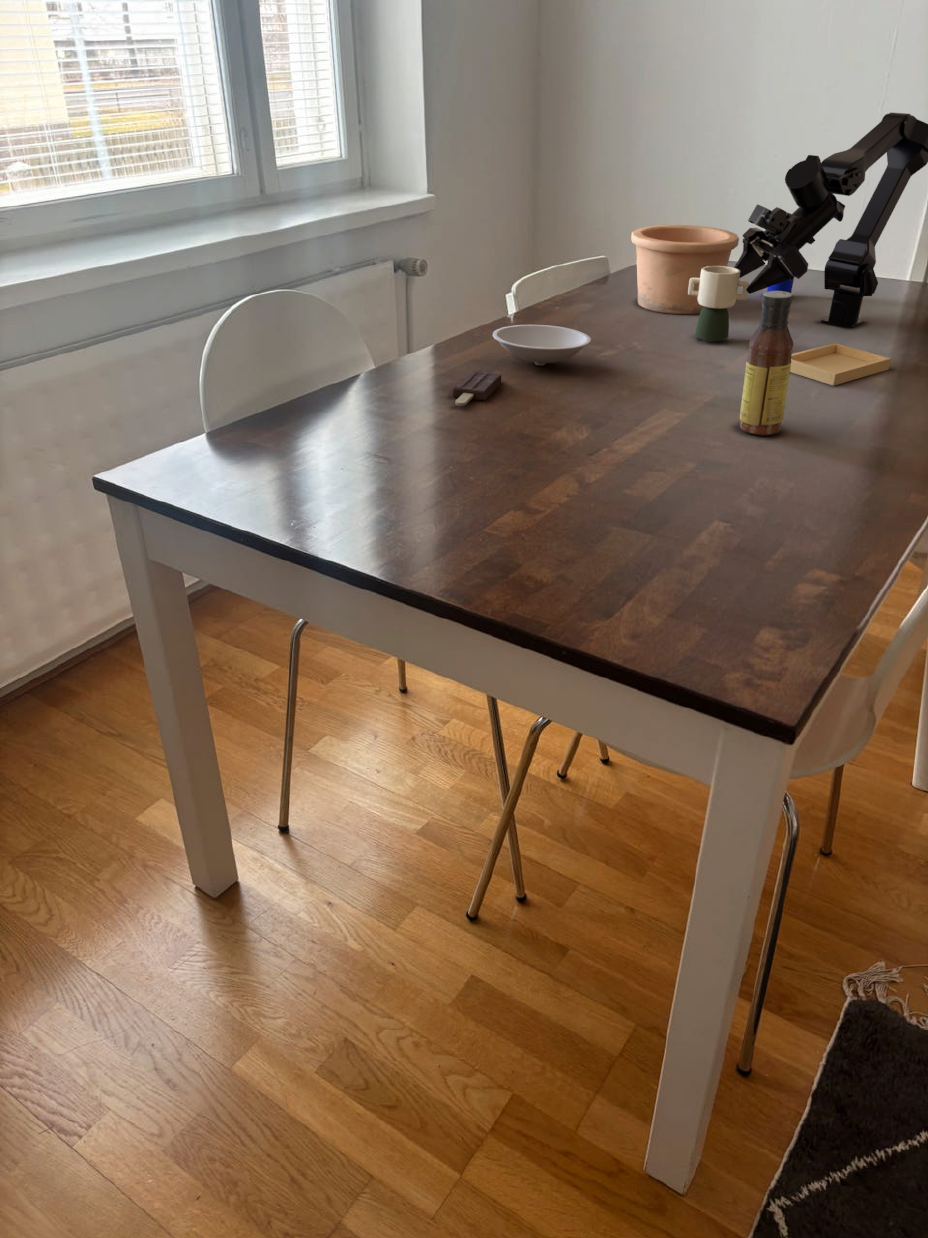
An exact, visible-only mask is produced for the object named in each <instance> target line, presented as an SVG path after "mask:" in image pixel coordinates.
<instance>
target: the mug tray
mask: <svg viewBox="0 0 928 1238" xmlns="http://www.w3.org/2000/svg"><path fill="white" fill-rule="evenodd" d="M891 361H892V358H891V357H887V356H883V355H881V354H877V353H873V352H869V351H866V350H862V349H859V348H855V347H852V346H848V345H845V344H840V343H837V342H833V343H830V344H829V343H828V344H825V345H822V346H818V347H815V348H811V349H806V350H803V351H799V352H794V353H792V354H791V368H790V373H792V374H794V375H798V376H801V377H805V378H807V379H811V380H813V381H817V382H819V383H822V384H823V383H824V384H826V385H830V386H833V387H834V386H837V385H840V384H844V383H847V382H850V381H855V380H858V379H860V378H864V377H868V376H871V375H875V374H878V373H882V372H884V371H888V370H889V369H890V366H891Z"/></svg>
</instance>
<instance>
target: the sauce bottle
mask: <svg viewBox="0 0 928 1238" xmlns="http://www.w3.org/2000/svg"><path fill="white" fill-rule="evenodd" d="M793 297H794V295H793V293H792V292H791V293H788V292H783V291H769V292H767V291H765V292H764V293H762V298H761V306H762V307H761V317H760V320H759V326H758V327H757V329H756V330H755V331H754V333H753V334H752V336H751V337H750V339H749V343H748V350H747V351H748V354H747V359H746V363H745V371H744V378H743V379H744V380H743V388H742V395H741V403H740V411H739V427H740V430H742V431H743V432H745V433H746V434H751V435H756V436H772V435H775V434H778V433H779V432H780V431H781V428H782V422H783V421H784V416H785V408H786V400H787V396H788V395H787V394H788V389H789V388H788V387H789V381H790V374H791V372H790V368H791V354H793V348H794V340H793V338H792V335H791V332H790V329H789V326H788V325H789V315H790V310H791V307H792V304H793Z"/></svg>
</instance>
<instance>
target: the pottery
mask: <svg viewBox="0 0 928 1238" xmlns="http://www.w3.org/2000/svg"><path fill="white" fill-rule="evenodd" d="M630 239H631V243H632V245H635V247H636V248H635V250H636V251H635V252H636V279H637V281H636V282H637V283H636V284H637V304H638V305H639V306H640V307H642V308H643V309H645V310H648V311H652V312H655V313H656V312H657V313H662V314H671V315H697V314H700V312H701V310H702V308H704V306H702V305H700V304H699V303H698V296H690V295H688V288H689V280H690V278H700V275H701V269H702V268H703V267H707V266H727V267H728V266H729V261H730V258H731V254H732V251H733V250H734V249H736V248H737V247H738V246H739V244H740V243H739V242H740V237H739V236H738V234H737V233H734V232H733V231H729V230H727V229H722V228H717V227H710V226H702V225H692V224H691V225H689V224H660V225H648V226H644V227H640V228H637V229H635V230H633V231H631V237H630ZM693 290H694V291H698V290H699V283H694V289H693Z"/></svg>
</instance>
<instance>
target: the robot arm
mask: <svg viewBox="0 0 928 1238" xmlns="http://www.w3.org/2000/svg"><path fill="white" fill-rule="evenodd" d="M884 155H886V159H887V160H886V161H887V165H886V168H885V169H884V172H883V173H882V175H881V177H880V179H879V181H878V184H877V185H876V187H875V189H874V191H873V193H872V195H871V197H870V199H869V201H868V202H867V205H866V207H865V209H864V211H863V212H862V215H861V216H860V219H859V221H858V223H857V225H856V226H855V228H854V230H853V233H852V234H851V235H850V237H847V238H846V239H843V238H839V240H838V241H837V242H836V243H835V245H834V247H833V250H832V252H831V254H829V256H828V259H827V261H826V263H825V266H824V269H823V270H824V271H823V273H824V275H823V277H824V278H823V279H824V282H823V283H824V284H823V285H824V287H823V288H824V290H831V291H833V295H832V299H831V302H830V303H831V304H830V308H829V313H828V316H826V317H823V318H822V319H820V322H821V323H824V324H828V325H833V326H839V327H843V328H848V329H851V328H854V327H857V326H859V325H861V324H863V323H865V321H866V320H865V319H862V318H860V313H861V309H862V304H863V300H864V297H873V295H874V294H875V293H876V290H877V287H878V285H879V281H878V278H877V275H876V272H875V269H874V268H875V266H876V265H877V258H876V257H877V256H876V245H877V243H878V242H879V240H880V237H881V236H882V234H883V232H884V231H885V228H886V226H887V224H888V222H889V220H890V218H891V216H892V214H893V212H894V210H895V208H896V207H897V205H898V203H899V200H900V199H901V196H902V194H903V193H904V191H905V189H906V187H907V185H908V183H909V181H910V180H911V178H912V177H913V175H914V174H916V173H917V172H919V171H921V169H923V168H924V167H926V165H928V123H927V122H925V121H922V120H920V119H918V118H916V117H915V116H914V115H912V114H911V113H905V112H889V113H886V114H884V115H883V116H882V119H881V121H880V122H879V123H878V124H876V125H875V126H874V127H873V128H872V129H871V130H869V131H868V132H867V133H866V134H865V135H864V136H863V137H861V138H860V139H859V140H858V141H857V142H856V143H855V144H853V146H852V145H851V147H850V148H848V149H846V150H843V151H839V152H835V153H832V154H831V155H829V156H827V157H825V158H824V159H823V160H822V161H821V159H820V156H819V155H814V154H808V155H807V156H806V158H805V159H804V160H802V161H799V162H797V163H795V164H794V165H793V166H792V167H790V168H789V169H788V170H787V172H786V174H785V177H784V181H785V182H784V183H785V185H786V187H787V190H788V191H789V193H790V195H791V196H792V197H791V198H792V199H793V201H794V203H795V205H796V206H797V207H798V208H797V209H796V210H794V211H793V212H792V213H790V212H787V211H786V210H784V209H782V208H781V207H777V206H776V207H775V208H774V209H772V210H771V209H769V208H767V207H765V206H763V205H760V204H758V203H757V204H756V205H755V207H754V209H753V210H752V212H751V214H750V216H749V217H748V219H747V222H749V223H751V224H754V225H756V226H757V227H749V228H748V229H747V230H746V231H745V232H744V233H743V234H742V253H741V255H740V257H739V259H738V260H737V262H736V264H735V265H734V267H733V268H736V269H739V270H740V278H739V279H742V278H743V277H745V276H746V275H748V274H750V273H752V272H754V271H756V270H758V269H760V268H761V267H763V266H764V267H763V268H762V270H761V271H759V273H758V274H757V275H756V276H755V277H754V278H753V280H752V281H751V282H750V283H749V286H748V287H747V289H746V291H747V292H748V294H750V295H751V294H754V293H756V292H760V291H762V290H765V289H768V287H770V286H773V285H776V284H779V283H782V282H785V281H788V280H793V279H794V280H795V278H796V279H798V280H800V279H801V278H802V277H804V275H805V274H806V273H807V272H808V268H809V263H808V261H807V259H806V258H805V257H804V256H803V255H802V252H800V250H801V249H802V248H803V247H804V246H805V245H807V244H808V245H812V244H814V243H815V242H816V239H815V238H814V236H816V235H817V234H818V233H819V232H820V231H821V230H823V228H824V227H825V226H827V225H828V224H829V223H830V222H831V221H832V220H833V219H835V220H836V221H838V222H842V221H843V219H844V214H845V213H844V212H845V208H846V205H845V204H844V203H842V202H841V201H840V200H838V199H837V196H836V195H840V196H847V197H850V196H852V195H853V194H854V193H856V192H857V190H858V189H859V188H860V187H861V186H862V184H864V182H865V180H866V172H868V170H869V169H870V168H871V167H872V166H873V165H874V164H875V163H877V161H878V160H880V159H881V158H882V157H883V156H884ZM760 228H761V229H760ZM762 229H763V230H762ZM766 262H767V264H766ZM793 276H794V278H793ZM794 280H793V281H794Z"/></svg>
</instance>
